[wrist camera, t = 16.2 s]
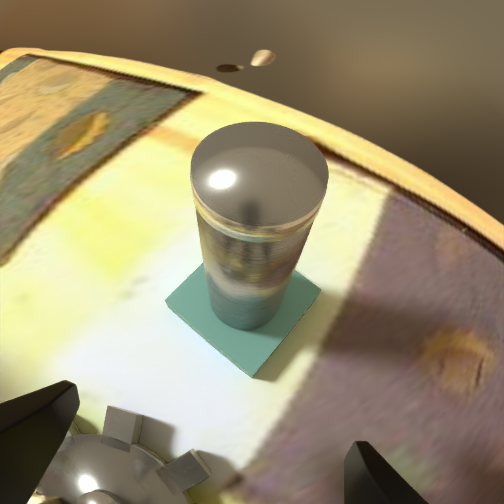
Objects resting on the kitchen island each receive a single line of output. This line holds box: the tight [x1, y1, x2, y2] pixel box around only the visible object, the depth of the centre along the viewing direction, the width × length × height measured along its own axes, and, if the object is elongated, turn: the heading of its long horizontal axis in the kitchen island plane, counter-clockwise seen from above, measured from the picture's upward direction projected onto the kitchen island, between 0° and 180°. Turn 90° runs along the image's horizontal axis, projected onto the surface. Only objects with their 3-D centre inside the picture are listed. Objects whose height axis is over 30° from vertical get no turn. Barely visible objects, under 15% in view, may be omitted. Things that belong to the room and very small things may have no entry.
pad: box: [165, 263, 321, 378], centre depth 20 cm, size 7×7×1 cm
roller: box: [190, 122, 329, 330], centre depth 14 cm, size 4×4×11 cm
